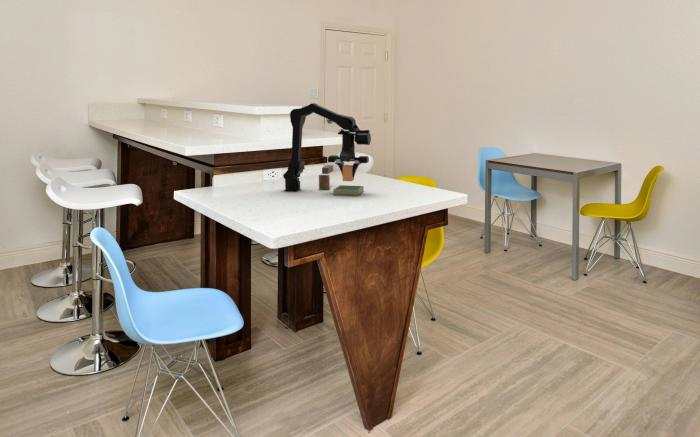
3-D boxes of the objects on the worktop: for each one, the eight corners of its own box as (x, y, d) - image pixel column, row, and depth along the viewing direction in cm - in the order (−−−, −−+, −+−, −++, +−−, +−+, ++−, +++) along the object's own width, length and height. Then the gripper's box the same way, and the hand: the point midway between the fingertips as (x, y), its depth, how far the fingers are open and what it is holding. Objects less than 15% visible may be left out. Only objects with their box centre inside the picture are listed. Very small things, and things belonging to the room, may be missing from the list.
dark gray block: (322, 173, 263) (321, 167, 262) (327, 170, 273) (327, 165, 272) (327, 173, 262) (327, 167, 262) (333, 171, 272) (332, 165, 271)
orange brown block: (342, 181, 250) (342, 166, 249) (345, 179, 255) (345, 164, 253) (351, 181, 249) (351, 166, 248) (354, 179, 254) (354, 165, 252)
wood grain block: (319, 189, 263) (318, 175, 261) (319, 189, 264) (319, 174, 263) (328, 190, 262) (328, 175, 260) (329, 189, 263) (329, 175, 262)
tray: (333, 194, 249) (333, 189, 249) (339, 190, 261) (339, 185, 260) (358, 195, 247) (358, 190, 246) (363, 191, 258) (363, 186, 257)
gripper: (324, 145, 243) (324, 179, 246) (364, 146, 239) (364, 180, 242) (330, 143, 253) (331, 175, 257) (369, 144, 249) (368, 177, 253)
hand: (348, 177), depth 252 cm, fingers closed on orange brown block, 4 cm apart
